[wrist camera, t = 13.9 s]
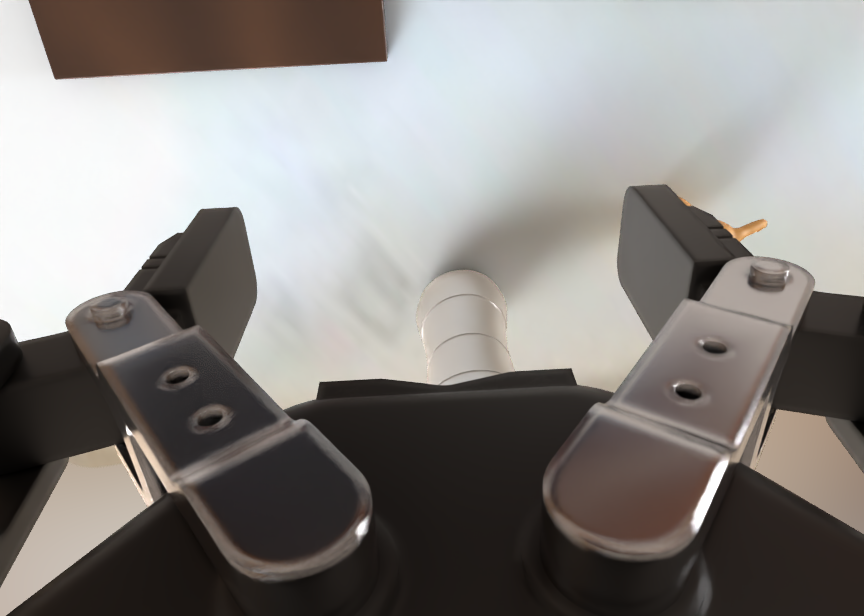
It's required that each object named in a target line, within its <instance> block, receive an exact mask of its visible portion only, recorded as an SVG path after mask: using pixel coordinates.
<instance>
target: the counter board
mask: <svg viewBox="0 0 864 616" xmlns="http://www.w3.org/2000/svg"><path fill="white" fill-rule="evenodd" d="M29 3H30V6H31V9H32V12H33V15H34V18H35V21H36V24H37V27H38V30H39V33H40V36H41V39H42V42H43V45H44V48H45V51H46V54H47V57H48V60H49V63H50V66H51V69H52V72H53V75H54V78H55V79H75V78H93V77H111V76H129V75H148V74H166V73H184V72H202V71H221V70H239V69H257V68H275V67H294V66H312V65H330V64H348V63H367V62H385V61H387V58H388V52H387V39H386V26H385V13H384V0H29Z"/></svg>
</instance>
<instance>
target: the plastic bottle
mask: <svg viewBox="0 0 864 616" xmlns="http://www.w3.org/2000/svg"><path fill="white" fill-rule="evenodd" d="M416 323H417V327H418V331H419V334H420V338H421V340H422V342H423V344H424V348H425V353H426V358H427V384H433V385H452V384H457V383H461V382H466V381H470V380H475V379H479V378H484V377H488V376H493V375H497V374H502V373H506V372H515V369H514V366H513V363H512V360H511V358H510V354H509V351H508V346H507V335H506V329H507V305H506V301H505V299H504V296H503V294H502V293H501V291H500V290H499V288H498V287H497V286H496V284H495V283H494V282H493V281H492V280H491V279H490V278H489V277H487V276H486V275H484V274H482V273H479V272H476V271H472V270H455V271H450V272H447V273H445V274H442V275H440V276H439V277H437V278H435V279H434V280H433V281H432V282H430V283H429V284H428V286H427V287H426V288H425V289H424V291H423V293H422V295H421V297H420V300H419V304H418V308H417V312H416Z"/></svg>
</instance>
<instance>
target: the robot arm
mask: <svg viewBox="0 0 864 616" xmlns="http://www.w3.org/2000/svg"><path fill="white" fill-rule="evenodd" d="M617 268H618V276H619V280H620V283H621V286H622V287H623V289H624V291H625V293H626V294H627V296H628V298H629V300H630V301H631V303H632V305H633V307H634V308H635V310H636V312H637V314H638V315H639V317H640V319H641V320H642V322H643V324H644V326H645V327H646V329H647V331H648V333H649V334H650V336H651V338H652V340H653V341H652V343H651V344H650V345H649V347H648V348H647V350H646V351H645V352H644V354H643V355H642V356H641V358H640V359H639V360H638V362H637V363H636V365H635V366H634V367H633V369H632V370H631V371H630V373H629V374H628V375H627V377H626V378H625V380H624V381H623V382H622V384H621V385H620V386H619V388H618V389H617V390H616V392H615V393H613V392H609V391H605V390H602V389H598V388H593V387H587V386H581V385H577V383H576V380H575V378H574V375H573V372H572V369H571V368H570V369H551V370H533V371H515V372H506V373H502V374H497V375H493V376H488V377H484V378H479V379H475V380H470V381H466V382H461V383H457V384H452V385H433V384H424V383H415V382H406V381H397V380H388V379H368V380H350V381H332V382H320V383H319V388H318V393H317V398H316V400H312V401H308V402H304V403H301V404H298V405H295V406H292V407H290V408H287V409H285V410H282V409H281V408H280V407H279V406H278V405H277V404H276V403H275V402H274V400H273V399H272V398H271V397H270V396H269V395H268V394H267V393H266V392H265V391H264V390H263V389H262V388H261V387H260V386H259V385H258V384H257V383H256V382H255V381H254V380H253V379H252V378H251V377H250V376H249V375H248V374H247V373H246V372H245V371H244V370H243V369H242V368H241V367H240V365H239V364H238V363H237V362H236V361H235V360H234V359H233V358H234V356H235V353H236V351H237V348H238V346H239V343H240V341H241V338H242V336H243V333H244V331H245V328H246V326H247V323H248V321H249V318H250V316H251V313H252V311H253V308H254V306H255V303H256V298H257V282H256V275H255V270H254V265H253V261H252V256H251V251H250V246H249V242H248V237H247V232H246V227H245V223H244V219H243V215H242V213H241V211H240V209H239V208H238V207H231V208H212V209H201V210H200V211H199V212H198V213H197V215H196V216H195V218H194V219H193V220H192V222H191V223H190V225H189V226H188V227H187V229H186V230H185V232H184V233H177V234H175V235H174V236H172V237H170V238H169V239H167V240H165V241H164V242H162V243H161V244H159V245H158V246H157V248H156V249H155V250H154V252H153V253H152V254H151V256H150V259H147V261H146V262H145V263H144V265H143V266H142V270H139V271H138V272H137V274H136V275H135V276H134V278H133V279H132V280H131V281H130V283H129V284H128V285H127V287H126V288H125V289H124V291H118V292H112V293H108V294H104V295H101V296H98V297H95V298H92V299H90V300H88V301H86V302H84V303H82V304H80V305H79V306H77V307H76V308H75V309H73V310H72V311H71V312H70V313H69V315H68V316H67V318H66V322H65V324H66V327H67V329H68V331H67V332H63V333H59V334H55V335H50V336H46V337H41V338H36V339H32V340H27V341H23V342H18V341H17V339H16V337H15V335H14V333H13V330H12V328H11V326H10V324H9V323H8V322H6V321H4V320H0V587H1V585H2V583H3V581H4V580H5V578H6V576H7V574H8V572H9V571H10V569H11V567H12V565H13V563H14V561H15V560H16V558H17V556H18V554H19V552H20V550H21V549H22V547H23V545H24V543H25V541H26V539H27V538H28V536H29V534H30V532H31V530H32V528H33V526H34V525H35V523H36V521H37V519H38V517H39V516H40V514H41V512H42V510H43V508H44V506H45V505H46V503H47V501H48V499H49V497H50V495H51V494H52V491H53V490H54V488H55V486H56V484H57V483H58V480H59V479H60V477H61V475H62V473H63V472H64V470H65V468H66V466H67V463H68V460H69V457H72V456H75V455H79V454H83V453H86V452H90V451H94V450H98V449H101V448H105V447H109V446H112V445H114V446H115V449H116V451H117V454H118V456H119V458H120V459H121V461H122V463H123V465H124V466H125V468H126V470H127V472H128V473H129V475H130V477H131V479H132V481H133V482H134V484H135V486H136V488H137V490H138V491H139V493H140V495H141V497H142V498H143V500H144V502H145V504H146V506H147V508H146V509H145V510H144V511H142V512H141V513H140V514H138V515H137V516H136V517H134V518H133V519H132V520H130V521H129V522H128V523H127V524H125V525H124V526H123V527H121V528H120V529H119V530H117V531H116V532H115V533H113V534H112V535H111V536H110V537H108V538H107V539H106V540H104V541H103V542H102V543H100V544H99V545H98V546H96V547H95V548H94V549H93V550H91V551H90V552H89V553H87V554H86V555H85V556H83V557H82V558H81V559H80V560H78V561H77V562H76V563H74V564H73V565H72V566H71V567H69V568H68V569H66V570H65V571H64V572H63V573H61V574H60V575H59V576H57V577H56V578H55V579H53V580H52V581H51V582H49V583H48V584H47V585H45V586H44V587H43V588H42V589H40V590H39V591H38V592H37V593H35V594H34V595H32V596H31V597H30V598H28V599H27V600H26V601H24V602H23V603H22V604H21V605H19V606H18V607H17V608H15V609H14V610H13V611H12V612H10V613H9V614H8V615H6V616H864V534H862V533H861V532H859V531H857V530H855V529H854V528H852V527H850V526H849V525H847V524H845V523H844V522H842V521H840V520H838V519H837V518H835V517H833V516H831V515H830V514H828V513H826V512H825V511H823V510H821V509H819V508H818V507H816V506H815V505H813V504H811V503H809V502H808V501H806V500H804V499H803V498H801V497H799V496H797V495H796V494H794V493H792V492H791V491H789V490H787V489H785V488H784V487H782V486H780V485H779V484H777V483H775V482H774V481H772V480H770V479H768V478H767V477H765V476H763V475H762V474H760V473H758V472H756V471H755V469H756V466H757V464H758V461H759V459H760V456H761V454H762V451H763V448H764V446H765V444H766V441H767V439H768V436H769V434H770V431H771V429H772V426H773V424H774V421H775V418H776V415H777V411H778V409H780V410H787V411H793V412H800V413H806V414H812V415H819V416H825V417H826V421H827V423H828V425H829V426H830V428H831V429H832V431H833V432H834V433H835V435H836V436H837V437H838V439H839V440H840V441H841V443H842V444H843V446H844V447H845V448H846V450H847V451H848V452H849V454H850V455H851V457H852V458H853V459H854V460H855V462H856V464H857V465H858V466H859V468H860V469H861V470H862V472H863V473H864V297H860V296H851V295H841V294H832V293H824V292H817V291H813V289H814V286H815V279H814V277H813V276H812V275H811V274H810V273H809V272H808V271H807V270H805V269H804V268H802V267H800V266H798V265H796V264H793V263H790V262H787V261H784V260H780V259H776V258H770V257H759V256H753V255H752V254H751V253H750V252H749V251H748V250H747V249H746V248H745V247H744V246H743V245H742V244H741V243H740V242H739V241H738V240H737V239H736V238H733V235H732V234H731V233H730V232H729V231H728V230H727V229H724V226H723V225H722V224H721V223H720V222H719V221H718V220H717V219H716V218H715V217H714V216H713V215H711V214H709V213H707V212H705V211H702V210H700V209H698V208H696V207H694V206H687V205H686V204H685V203H684V202H683V201H682V200H681V199H680V198H679V197H678V196H677V195H676V194H675V193H674V192H673V191H672V190H671V189H670V188H669V187H668V186H667V185H665V184H663V185H645V186H630V187H628V189H627V190H626V193H625V196H624V202H623V211H622V220H621V229H620V238H619V247H618V256H617Z"/></svg>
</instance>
